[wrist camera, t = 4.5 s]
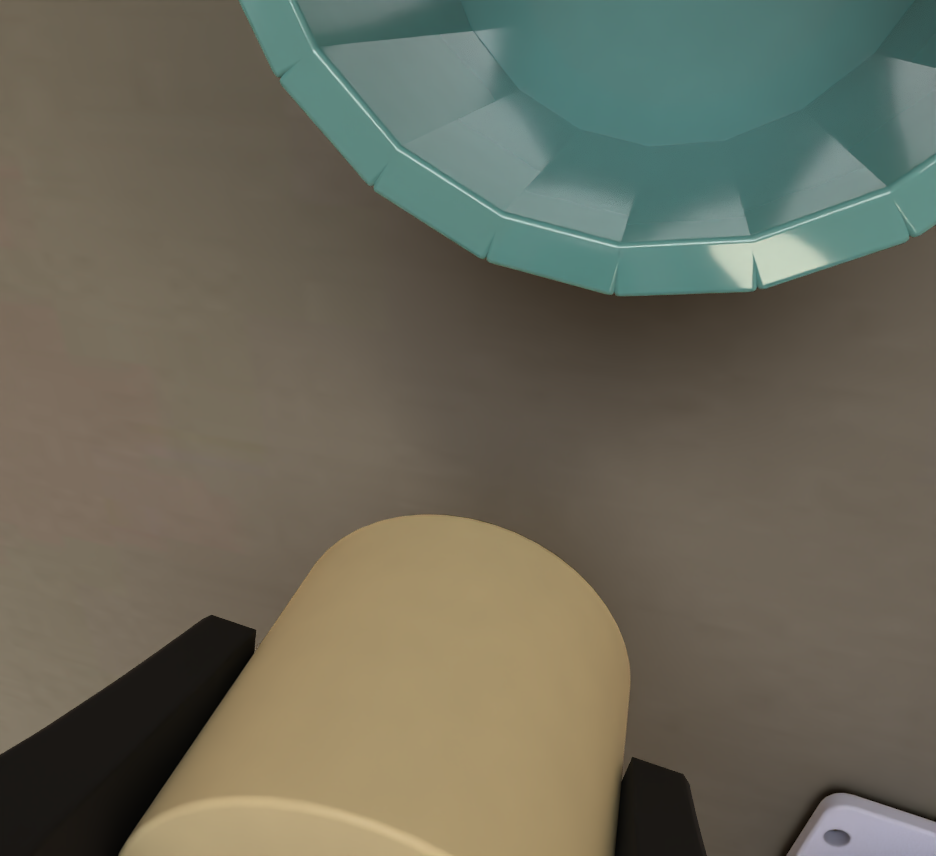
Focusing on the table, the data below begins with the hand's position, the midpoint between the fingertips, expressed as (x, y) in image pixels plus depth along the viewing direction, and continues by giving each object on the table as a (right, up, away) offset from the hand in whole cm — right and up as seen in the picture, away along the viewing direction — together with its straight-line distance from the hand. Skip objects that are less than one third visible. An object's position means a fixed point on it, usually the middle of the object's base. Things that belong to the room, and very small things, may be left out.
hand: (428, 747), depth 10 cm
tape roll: (0, +1, +1) cm, 2 cm away
